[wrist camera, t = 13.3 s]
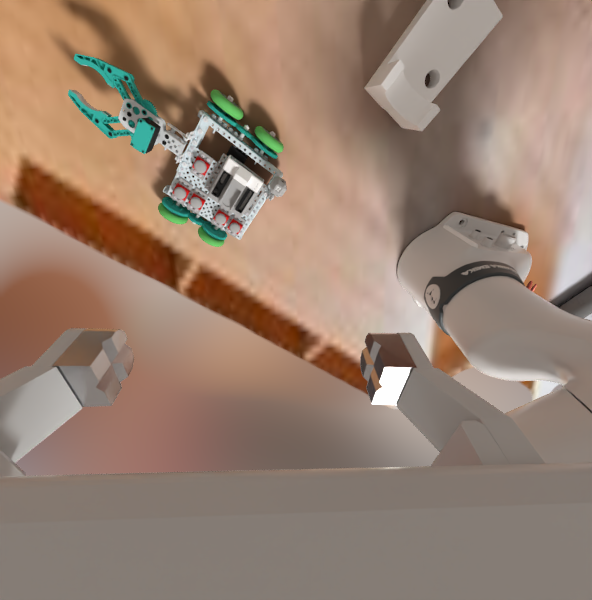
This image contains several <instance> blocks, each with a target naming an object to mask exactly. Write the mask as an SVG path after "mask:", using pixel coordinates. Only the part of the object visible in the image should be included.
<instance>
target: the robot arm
mask: <svg viewBox="0 0 592 600" xmlns="http://www.w3.org/2000/svg"><path fill="white" fill-rule="evenodd" d="M461 220H462V222H461V223H459V222H460V221H461ZM527 246H528V233H527V232H525V231H524V230H521V229H518V228H514V227H511V226H507V225H504V224H500V223H496V222H493V221H489V220H486V219H482V218H478V217H475V216H471V215H467V214H464V213H460V212H453V213H451V214H449V215H448V216H447V217H446V218H445V219H444V220H442V221H441V222H440V223H439V224H438V225H437V226H436V227H434V228H432V229H430V230H428V231H426V232H424V233H423V234H421V235H420V236H418V237H417V238H416V239H414V240H413V241H412V242H411V243H410V244H409V245H408V247H407V248H406V249H405V251H404V252H403V254H402V256H401V258H400V260H399V263H398V268H397V276H398V280H399V283H400V284H401V286H402V287H403V288H404V289H405V290H406V291H407V292H409V293H410V294H411V295H412V296H413V299H414V301H415V303H416V304H417V305H418V306H419V307H423V308H424V309H425V310H426V311H427V312H428V313H429V314H430V315H431V316H432V317H433V319H434V320H435V321H436V323H437V325H438V326H439V328H440V329H442V330H443V331H444V333H446V334H447V335H449V336H451V338H452V339H453V340H454V342H455V343H456V344H457V346H458V347H459V348H460V350H461V351H462V353H463V354H464V355H465V357H466V358H467V359H468V361H469V362H470V363H471V365H472V366H474V367H475V368H476V369H477V370H479V371H480V372H482V373H484V374H486V375H489V376H491V377H494V378H499V379H502V380H508V381H533V380H540V381H550V382H554V383H558V384H562V385H564V386H562V388H560V389H558V390H556V391H554V392H551V393H549V394H547V395H545V396H543V397H540V398H538V399H536V400H534V401H532V402H529V403H527V404H525V405H523V406H521V407H518V408H516V409H514V410H512V411H509V412H507V413H505V414H504V413H503V412H501V411H500V410H498V409H497V408H495V407H494V406H493V405H491V404H490V403H488V402H487V401H485V400H484V399H482V398H481V397H479V396H478V395H476V394H475V393H473V392H472V391H470V390H469V389H467V388H466V387H465V386H463V385H461V384H460V383H459V382H457V381H456V380H454V379H453V378H452V377H450V376H449V375H447V374H446V373H444V372H443V371H441V370H440V369H438V368H433V366H432V364H431V363H430V361H429V359H428V358H427V356H426V354H425V353H424V351H423V349H422V348H421V346H420V344H419V343H418V341H417V339H416V338H415V336H414V335H413V334H412V333H368V335H367V336H366V339H365V343H366V346H367V347H366V348H365V349H364V350H362V354H361V364H360V365H361V371H362V375H363V377H364V378H365V379H366V380H367V381H368V384H367V387H366V388H367V391H368V394H369V397H370V400H371V403H372V404H380V405H396V406H397V407H398V408H399V410H400V411H402V413H403V414H404V415H405V416H406V417H407V418H408V419H409V420H410V421H411V422H412V423H413V424H414V425H415V426H416V427H417V428H418V430H420V432H421V433H422V434H423V435H424V436H425V437H426V438H427V439H428V440H429V441H430V442H431V443H432V444H433V445H434V447H435V448H436V449H437V450H438V451H439V452H440V453H439V455H438V456H437V457H436V459H435V460H434V462H433V463H432V465H431V466H423V467H380V468H337V469H299V470H297V469H294V470H253V471H208V472H170V473H169V472H168V473H167V472H166V473H129V474H128V473H126V474H85V475H84V474H83V475H42V476H41V475H40V476H26V473H25V472H24V471H23V470H22V469H21V468H20V467H19V466H18V465H17V464H16V462H17V461H18V460H19V459H21V458H22V457H23V456H24V455H26V454H27V453H28V452H29V451H30V450H32V449H33V448H34V447H35V446H37V445H38V444H39V443H40V442H42V441H43V440H44V439H45V438H46V437H48V436H49V435H50V434H51V433H53V432H54V431H55V430H56V429H58V428H59V427H60V426H61V425H62V424H64V423H65V422H66V421H67V420H68V419H70V418H71V417H72V416H74V415H75V414H76V413H77V412H78V411H80V410H81V409H82V407H89V406H111V405H112V404H113V402H114V401H115V399H116V397H117V395H118V394H119V392H120V390H121V388H122V387H121V384H120V382H121V381H122V380H124V379H125V378H127V377H128V376H129V374H130V372H131V370H132V367H133V362H134V356H133V352H132V349H131V348H130V347H129V346H127V345H126V344H125V342H126V340H127V337H126V334H125V332H124V331H122V330H120V329H93V328H88V329H83V328H71V329H68V330H66V331H65V332H64V333H63V334H62V335H61V336H60V337H59V338H58V339H57V340H56V341H55V342H54V343H53V344H52V345H51V346H50V348H49V349H48V350H47V351H46V352H45V353H44V354H43V355H42V356H41V357H40V358H39V359H38V360H37V361H36V362H35V363H34V364H33V365H32V366H31V367H24V368H22V369H20V370H18V371H16V372H14V373H12V374H10V375H8V376H6V377H4V378H2V379H0V600H592V321H591V320H587V319H584V318H581V317H578V316H575V315H573V314H570V313H568V312H566V311H564V310H562V309H560V308H558V307H556V306H555V305H553V304H551V303H550V302H548V301H546V300H545V299H543V298H542V297H540V296H538V295H537V294H535V293H534V292H533V291H534V289H535V288H536V286H537V284H535V285H534V286H533V287H532V288H531V286H532V281H530V282H529V283H528V285H527V286H526V287H525V285H524V281H525V279H526V277H527V275H528V273H529V271H530V268H531V264H532V257H531V255H530V253H529V252H528V251H526V250H527ZM530 289H531V290H530Z"/></svg>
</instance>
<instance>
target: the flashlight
mask: <svg viewBox="0 0 592 600" xmlns="http://www.w3.org/2000/svg"><path fill="white" fill-rule="evenodd" d="M559 308H560V309H562V310H564V311H566V312H568V313H570V314H573V315H575V316H578V317H581V318H585V317H586V316H588V315H590V314H591V313H592V286H590V287H589V288H587V289H586V290H584V291H583V292H581V293H580V294H578V295H577V296H575V297H574V298H572V299H571V300H569V301H568V302H566V303H565V304H563V305H562V306H560V307H559Z"/></svg>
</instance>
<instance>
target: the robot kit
mask: <svg viewBox="0 0 592 600" xmlns="http://www.w3.org/2000/svg"><path fill="white" fill-rule="evenodd" d="M74 60H75V61H76V62H78V63H79V64H80V65H84V66H90V67H92V68H94V69H95V70H96V71H98V72H99V73H100V74H101V75H102V77H103V78H104V79H105V81H106V83H107V84H108V85H110V86H111V87H112V88H114V87H115V88H117V89H118V91H119V93H120V95H121V97H122V98H123V100H124V102H123V105H122V108H121V111H120V114H119V116H117V117H111V116H112V115H111V114H109V113H108V112H106V111H100V110H97V109H95V108H93V107H92V106H91V105H90V104H88V103H87V101H86V100H85V99H84V98H83V96H82V94H80V93H79V92H77V91H76V90H69V93H68V95H69V97H70V98H71V99H72V101H73V102H74V103H75V105H76V106H77V107H78V108H79V110H80V111H81V112H82V113H83V114H84V115H85V116H86V117H87V118H88V119H89V120H90V121H91V122H93V123H94V124H95V125H96V126H97V127H98V128H99V129H100V130H101V131H102V132H103V133H104V134H105V135H106V136H107V137H109V138H111V139H112V138H117V136H128V135H130V136H131V139H132V140H131V144H130V145H131V146H133V147H134V148H135V149H137V150H138V151H140V152H142V153H143V154H145V153H147V152H150V151H152V148H153V146H154V145H157V144H158V143H160V144H161V145H163V146H164V147H165V148H164V150H166V149H168V150H170V151H171V152H173V153H174V154H176V155H177V156H176V157H175V160H176V164H177V163H178V162H180V163H179V166H178V168H177V170H176V171H177V173H176V175H175V177H174V179H173V181H172V184H171V186H170V185H167V186H165V188H164V190H163V192H164V193H166V192H167V193H166V194H167V195H169V196H171V198H170V197H164V198H163V200H162V203H160V204H159V206H158V210H159V212H160V214H161V215H162V216H163V217H164V218H166V219H167V220H169V221H171V222H173V223H176V224H184V223H186V222H187V220H188V218H189V219H190V220H191V221H192V222H193V223H194V224H197V225H202V226H201V227H200V228H199V229H198V234H199V236H200V237H201V239H202V240H203V241H205V242H206V243H208V244H210V245H212V246H216V247H219V246H222V245H223V244H224V240H225V239H226V237H227V234H226V232H227V233H229V234H230V235H232V236H233V237H235V238H238V239H239V240H240V239H241V238H242V236H243V234H244V232H245V231H246V229H247V228H248V226H249V225H250V223H251V222H252V220H253V219H254V217H255V216H256V214H257V213H258V211H259V210H260V208H261V207H262V205H263V204H264V202H265V201H266V199H268V198H269V199H270V201H271V199H273V198H274V195H275V196H277V197H279V196H282V195H283V194H284V192H285V191H286V181H285V180H283V179H282V176H283V172H281V171H280V170H279V169H277V168H276V167H275V166H274V165H272V164H271V163H270V162H269V161H267V159H268V156H266V155H263V153H264V152H265V153H266V154H268V155H269V156H271V157H272V158H274V159H276V158H277V157H278V156H277V154H276V153H275V152H278V153H280V152H282V151H283V144H282V143H281V142H280V141H279V140H278V139H277V138H276V137H275V135H276V134H275V133H274V132H273V131H271V132H269V131H267V130H266V129H265V128H263V127H261V126H257V127H256V128H255V134H256V136H257V137H258V138H259V139H260V140H259V139H258V138H256V137H255V136H253V135H252V134H251V133H250V132H249V131H248V130H249V127H248V125H244V127H242V126H241V125H239V124H238V123H237V122H236V121H235V120H234V119H233V118H235V119H238V120H240V119H242V117H243V111H242V110H241V108H240V107H239V106H237V105H236V104H235V103H234V102H233V100H234V99H233V98H232V97H231V96H230V95H229V96H228V97H227V96H226V95H224V94H223V93H221V92H220V91H218V90H216V89H214V90H212V91H211V98H212V100H213V101H214V102H215V103H216V104H217V105H218V106H219V107H218V106H217V105H216V104H214V103H212V102H211V101H208V103H207V105H208V107H209V108H210V109H211V110H213V111H214V112H215V113H216V114H217V115H218V116H219V118H217V117H216V115H215V114H211V116H210V115H209V114H207V113H206V112H205V111H204V110H200V111H199V113H198V117H199V118H200V121H199V123H198V125H197V127H196V129H195V130H194V131H192V132H190V133H189V132H187V134H184V133H183V132H181V131H180V130H179V129H177V128H176V127H175V126H173V125H172V124H170V123H167V125H169V126H170V127H171V131H170V130H168V131H167V130H166V123H165V120H163V119H162V118H161V117H159V116H158V115H157V112H156V111H157V110H155V109H156V108H154V107H155V106H153V104H152V103H151V102H150V101H148V100H146V99H144V100H143V99H142V97H141V95H140V93H139V91H138V89H137V87H136V85H135V83H134V77H133V75H132V74H130V73H128V72H126V71H124V70H121V69H119V68H117V67H115V66H113V65H111V64H109V63H106V62H104V61H102V60H100V59H97V58H94V57H89V56H84V55H79V54H75V56H74ZM120 79H121V80H124V81H126V83H127V85H128V87H129V89H130V91H131V93H132V95H133V96H134V98H135V100H134V99H131V98H130V97H129V95H128V93H127V91H126V89H125V87H124V85H123V83H122V81H121V80H120ZM123 109H124V111H123ZM227 113H228V114H227ZM201 115H202V116H201ZM200 116H201V117H200ZM231 116H232V117H233V118H232V117H231ZM223 119H224V120H225V121H227V122H228V123H230V124H231V125H233V126H235V127H236V128H237V129H238V130H239V131H240V132H241V134H240V136H239V135H238V133H237V132H236V131H235V132H234V131H233V129H232V128H231V127H228V129H226V128H227V124H226V123H223V122H222V120H223ZM109 123H122V125H123V126H124V127H125V128H126V129H127V130H114V129H113V128H112V127H111V126H110V125H109ZM213 124H214V126H212V125H213ZM209 126H211V127H212V128H213V129H214V131H213V133H215V131H217V132H218V133H220V134H221V135H222V136H224V137H225V138H226V139H227V140H229V141H230V142H231V143H233V144H234V145H235V146H233V145H232V146H231V147H230V149H229V151H228V153H227V154H226V155H225V154H224V153H223V154H222V156H221V158H220V160H219V162H218V163H217V162H216V161H215V160H214V159H213V158H212V157H210V156H209V155H207V154H206V153H205V152H203V151H202V150H199V149H198V148H199V145H200V144H201V141H202V139H203V137H204V135H205V133H206V131H207V129H208V127H209ZM218 129H219V131H218ZM175 131H177V132H178V133H180V132H181V133H180V134H181V135H182V137H183V139H182V138H180V137H179V136H177V135H176V134H175ZM224 133H225V135H223V134H224ZM228 136H230V137H231V138H230V139H229V138H228ZM244 136H247V137H248V138H249V139H251V140H252V141H253V142H254V143H255V144H256V145H257V146H258V147H259V148H260V149H261V151H258V149H257V148H256V147H255V148H254V149H252V148H251V147H250V146H248V145H247V144H246V143H244V142H243V141H242V140H243V137H244ZM187 140H190V142H189V144H188V143H187ZM234 140H235V141H236V142H235V143H234V142H233V141H234ZM172 141H173V142H172ZM186 144H188V146H187V149H186V150H185V152H184V153H183V150H184V148H185V146H186ZM178 145H179V146H178ZM240 145H241V147H239V146H240ZM237 147H238V148H239V150H238V149H237ZM270 148H271V149H270ZM273 150H274V151H275V152H274V151H273ZM197 151H199V153H197ZM249 153H251V154H250V155H249ZM194 156H196V157H197V158H196V159H195V158H194ZM224 156H225V158H224ZM247 156H250V157H251V158H252V159H254V160H255V163H254V165H255V164H256V163H259V164H260V165H261V166H263V167H264V168H265V169H267V170H268V171H269V172H270V173H272V174H273V177H272V178H271V180H270V182H269V183H268V185H266V184H264V179H262V178H261V177H260V176H258V175H257V174H256V173H254V172H253V171H252V170H250V169H249V168H248V167H246V166H245V165H244V163H245V161H246V159H247ZM254 157H256V158H254ZM192 161H193V162H194V164H192ZM259 161H261V162H259ZM213 162H214V163H215V165H214V164H213ZM221 162H223V163H222V165H220V163H221ZM264 164H266V166H264ZM219 166H220V169H219V168H218V167H219ZM189 167H192V168H191V169H190V168H189ZM214 167H215V168H214ZM269 167H270V168H271V170H269ZM210 168H213V169H212V170H211V169H210ZM187 171H188V172H189V174H187ZM274 171H275V174H274V173H273V172H274ZM208 172H209V173H210V175H208ZM212 172H213V173H212ZM215 172H217V174H216V173H215ZM192 175H193V176H194V178H193V177H192ZM188 176H190V178H189V177H188ZM184 177H187V178H186V179H185V178H184ZM209 177H210V178H209ZM213 177H214V178H213ZM205 178H208V179H207V180H206V179H205ZM197 179H199V181H198V180H197ZM190 180H191V181H192V182H189V181H190ZM194 180H195V181H194ZM210 181H212V183H210ZM182 182H184V184H183V183H182ZM203 182H204V183H205V184H202V183H203ZM195 183H196V184H197V186H195ZM199 183H200V184H201V185H199ZM187 185H188V186H189V187H187ZM263 186H265V187H263ZM169 187H170V188H169ZM200 187H202V190H201V189H200ZM204 187H205V188H204ZM193 188H194V189H195V190H192V189H193ZM205 191H207V192H205ZM260 191H262V192H261V194H260V193H259V192H260ZM198 192H199V193H200V194H199V193H198ZM190 193H192V195H190ZM258 194H259V195H260V196H259V197H258V196H257V195H258ZM203 195H204V197H203ZM255 200H256V201H255ZM173 202H174V203H173ZM252 204H253V205H252ZM249 208H251V209H249ZM223 209H224V210H223ZM190 210H192V212H193V213H190ZM216 211H217V212H216ZM227 211H228V212H229V213H227ZM195 213H196V214H195ZM232 214H233V215H234V216H232ZM201 216H202V217H204V218H206V219H207V220H209V221H204V220H203V218H202V217H201ZM244 216H245V218H243V217H244ZM211 218H212V219H211ZM237 218H238V219H237ZM229 219H231V221H230V220H229ZM241 220H242V221H243V222H241ZM245 224H246V225H245ZM211 226H212V227H211ZM225 227H226V228H225ZM224 230H225V231H224ZM238 235H239V236H238Z"/></svg>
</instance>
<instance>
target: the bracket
mask: <svg viewBox="0 0 592 600" xmlns="http://www.w3.org/2000/svg"><path fill="white" fill-rule="evenodd" d="M502 17H503V15H502V14H501V12H500V10H499V8H498V7H497V5H496V3H495V2H494V0H449V6H448V0H426V2H425V3H424V5H423V6H422V7H421V9H420V10H419V12H418V13H417V14H416V16H415V17H414V19H413V20H412V21H411V23H410V24H409V26H408V27H407V28H406V30H405V31H404V33H403V34H402V35H401V37H400V38H399V40H398V41H397V43H396V44H395V45H394V47H393V48H392V50H391V51H390V52H389V54H388V55H387V57H386V58H385V59H384V61H383V62H382V64H381V65H380V66H379V68H378V69H377V71H376V72H375V73H374V75H373V76H372V78H371V79H370V80H369V82H368V83H367V85H366V86H365V87H364V89H365V90H366V91H367V92H368V93H369V94H370V95H371V96H372V98H373V99H374V100H375V101H376V102H377V103H378V104H379V105H380V106H381V107H382V108H383V109H385V110H386V111H387V112H388V113H389V114H390V116H391V117H392V118H393V119H394V120H395V121H396V122H397V123H398V124H399V125H400V127H401V128H406V129H411V130H417V131H423V130H424V129H425V128H426V127H427V125H428V124H429V123H430V122H431V121H432V120H433V118H434V117H435V116H436V115H437V114H438V113H439V111H440V108H439V107H438V106H437V105H436V104H434V103H431V102H432V101H433V100H434V99H435V97H436V96H437V95H438V94H439V93H440V91H441V90H442V89H443V88H444V87H445V85H446V84H447V83H448V82H449V81H450V80H451V78H452V77H453V76H454V75H455V74H456V72H457V71H458V70H459V69H460V68H461V66H462V65H463V64H464V63H465V62H466V60H467V59H468V58H469V57H470V56H471V54H472V53H473V52H474V51H475V50H476V48H477V47H478V46H479V45H480V44H481V42H482V41H483V40H484V39H485V38H486V36H487V35H488V34H489V33H490V32H491V30H492V29H493V28H494V27H495V26H496V24H497V23H498V22H499V21H500V20H501V19H502ZM428 73H429V75H430V82H429V84H428V86H427V87H426V86H425V77H426V75H427V74H428Z"/></svg>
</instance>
